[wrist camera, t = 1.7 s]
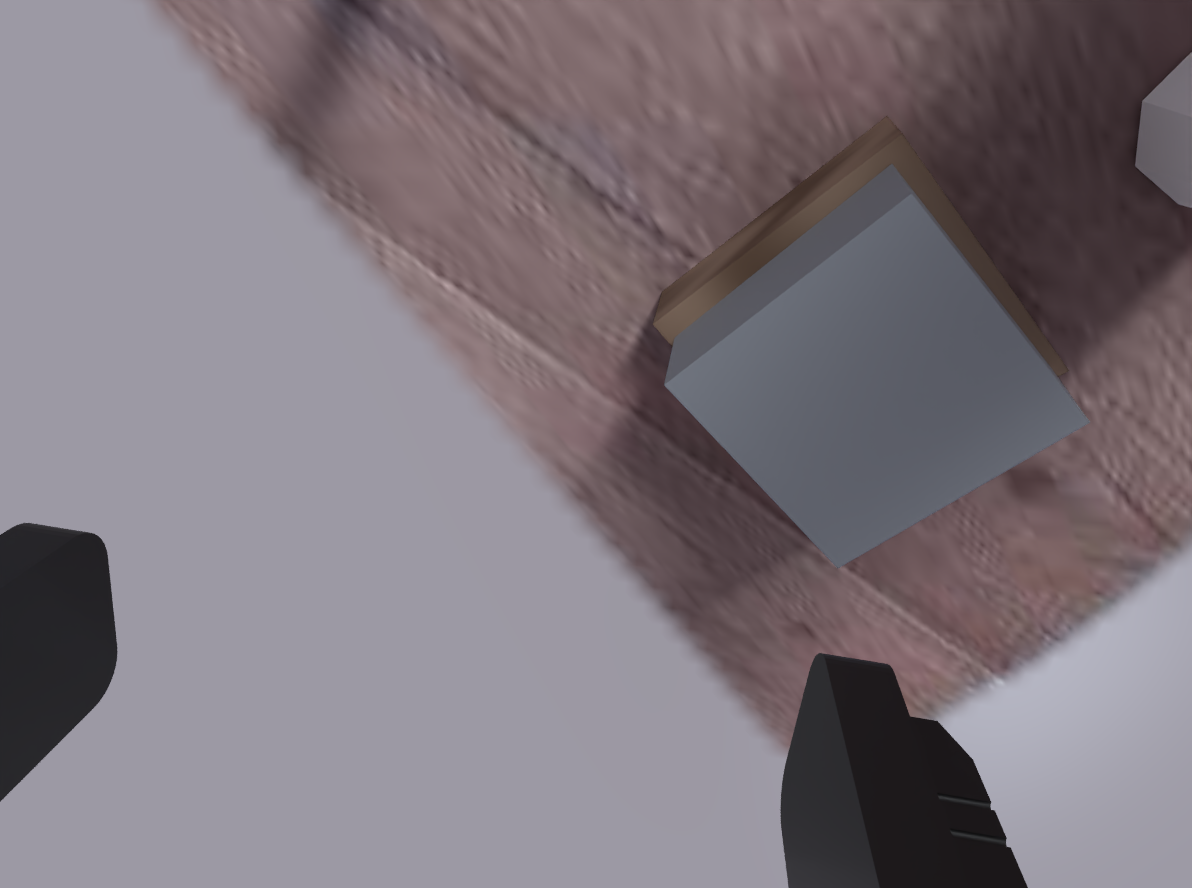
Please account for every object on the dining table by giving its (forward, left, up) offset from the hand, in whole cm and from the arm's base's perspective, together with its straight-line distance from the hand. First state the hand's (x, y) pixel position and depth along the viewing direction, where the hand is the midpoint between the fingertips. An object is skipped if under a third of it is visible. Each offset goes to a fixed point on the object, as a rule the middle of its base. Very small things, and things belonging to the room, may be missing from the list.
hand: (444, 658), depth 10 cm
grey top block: (-2, +9, -22) cm, 24 cm away
